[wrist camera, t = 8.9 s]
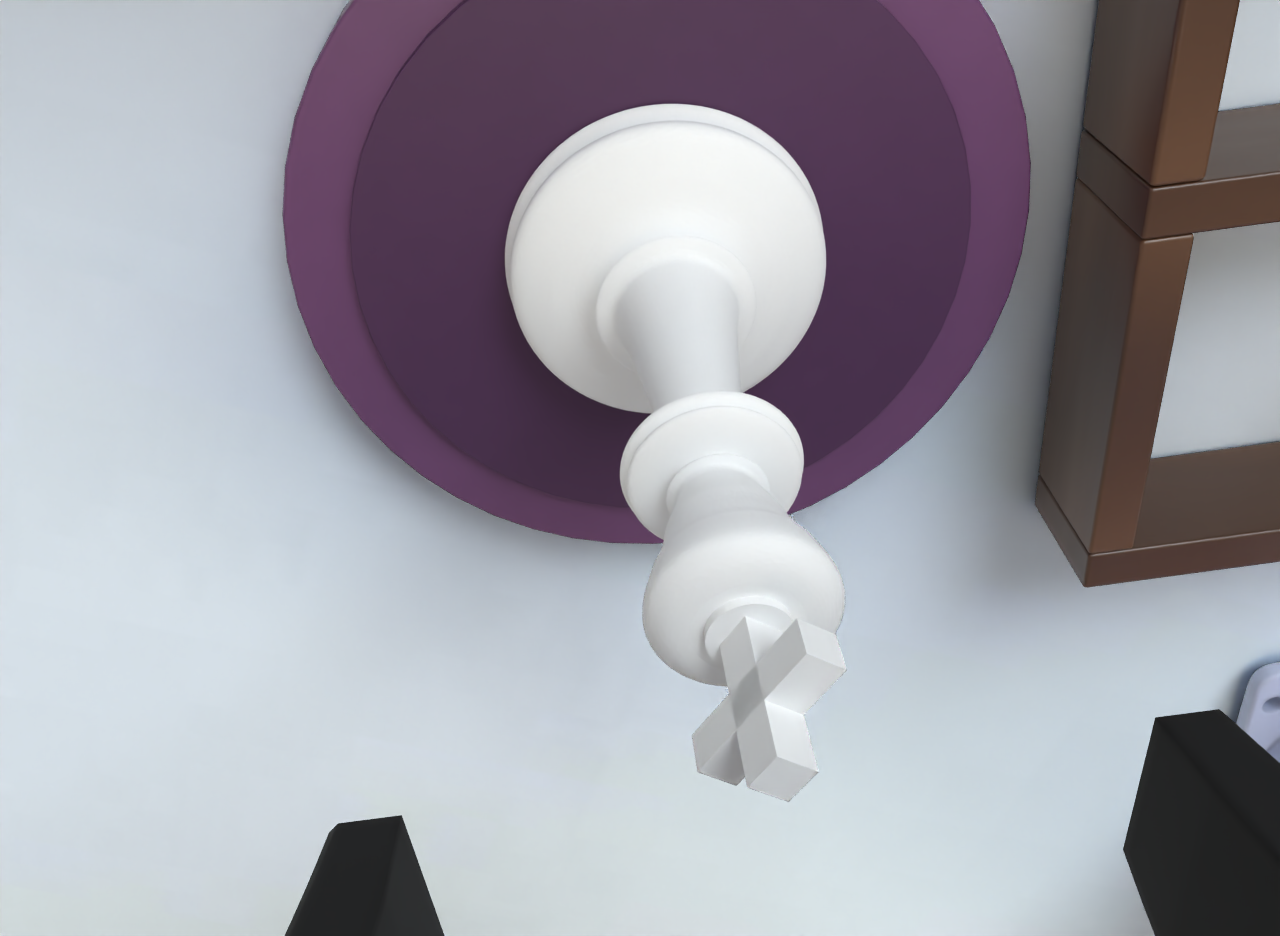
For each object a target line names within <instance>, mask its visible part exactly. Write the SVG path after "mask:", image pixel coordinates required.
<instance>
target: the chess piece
mask: <svg viewBox="0 0 1280 936" xmlns="http://www.w3.org/2000/svg"><path fill="white" fill-rule="evenodd" d="M505 272H506V280H507V286H508V290H509V294H510V298H511V301H512V304H513V307H514V311H515V314H516V317H517V320H518V323H519V325H520V328H521V330H522V332H523V334H524V336H525V338H526V340H527V342H528V343H529V345H530V346H531V348H532V349H533V351H534V352H535V354H536V355H537V356H538V358H539V359H540V360H541V361H542V363H543V364H544V365H545V366H546V367H547V368H548V369H549V370H550V371H551V372H552V373H553V374H554V375H555V376H557V377H558V378H559V379H560V380H561V381H563V382H564V383H565V384H567V385H568V386H569V387H571V388H572V389H574V390H576V391H577V392H579V393H581V394H583V395H584V396H586V397H588V398H590V399H593V400H595V401H597V402H600V403H602V404H605V405H608V406H611V407H615V408H618V409H622V410H627V411H633V412H640V413H652V414H651V415H650V416H648V417H647V418H646V419H645V420H644V421H643V422H642V423H641V424H640V425H639V426H638V427H637V429H636V430H635V431H634V433H633V434H632V436H631V437H630V439H629V441H628V443H627V444H626V447H625V449H624V452H623V455H622V459H621V465H620V482H621V488H622V491H623V494H624V497H625V499H626V501H627V503H628V505H629V507H630V508H631V510H632V511H633V512H634V514H635V515H636V517H637V518H638V520H639V521H640V522H641V523H642V524H643V526H644V527H646V528H647V529H648V530H649V531H650V532H651V533H653V534H654V535H656V536H657V537H659V538H661V539H663V540H664V541H663V545H662V548H661V551H660V553H659V555H658V556H657V558H656V560H655V562H654V565H653V567H652V570H651V573H650V576H649V579H648V583H647V586H646V590H645V594H644V599H643V608H642V618H643V626H644V630H645V634H646V637H647V639H648V641H649V643H650V645H651V647H652V649H653V650H654V652H655V653H656V654H657V655H658V657H659V658H660V659H661V660H662V661H663V662H664V663H665V664H667V665H668V666H669V667H670V668H672V669H673V670H675V671H676V672H678V673H680V674H681V675H683V676H685V677H688V678H690V679H692V680H695V681H698V682H702V683H706V684H710V685H716V686H725V687H728V691H729V695H728V696H727V697H726V698H725V699H724V700H723V701H722V702H721V703H720V705H719V706H718V707H717V708H716V709H715V710H714V711H713V712H712V713H711V715H710V716H709V717H708V718H707V719H706V720H705V721H704V722H703V724H702V725H701V726H700V727H699V728H698V729H697V730H696V731H695V732H694V734H693V735H692V739H693V746H694V752H695V759H696V765H697V772H698V773H701V774H704V775H707V776H710V777H713V778H716V779H719V780H721V781H724V782H727V783H730V784H733V785H736V786H737V785H738V784H739V783H740V782H741V781H742V779H743V778H744V777H745V778H746V784H747V788H750V789H753V790H756V791H758V792H761V793H764V794H767V795H770V796H773V797H776V798H779V799H781V800H784V801H787V802H789V801H790V800H791V799H792V798H793V797H794V796H795V795H796V794H797V793H798V792H799V791H800V790H801V789H802V788H803V787H804V786H805V785H806V784H807V783H808V782H809V781H810V780H811V779H812V778H813V777H814V776H815V775H816V774H817V773H818V772H819V770H818V767H817V763H816V759H815V755H814V751H813V747H812V744H811V740H810V736H809V732H808V728H807V724H806V721H805V717H804V715H805V714H806V713H807V712H808V711H809V709H810V708H811V707H812V706H813V705H814V704H815V703H816V702H817V701H818V700H819V699H820V698H821V697H822V696H823V695H824V694H825V693H826V692H827V691H828V690H829V689H830V688H831V686H832V685H833V684H834V683H835V682H836V681H837V680H838V679H839V678H840V677H841V676H842V675H843V674H844V673H845V672H846V671H847V668H846V665H845V662H844V659H843V655H842V652H841V649H840V646H839V643H838V640H837V636H836V632H837V630H838V628H839V626H840V623H841V620H842V617H843V613H844V608H845V590H844V584H843V581H842V578H841V575H840V573H839V570H838V568H837V566H836V565H835V563H834V561H833V560H832V558H831V557H830V556H829V554H828V553H827V552H826V551H825V549H824V548H823V547H822V546H821V545H820V544H819V543H818V542H817V540H816V539H815V538H814V537H813V536H812V535H811V534H810V533H809V532H808V531H807V530H805V529H804V528H803V527H802V526H800V525H799V524H798V523H796V522H795V521H794V520H793V519H792V518H791V517H790V516H789V515H788V514H787V512H788V510H789V509H790V507H791V506H792V504H793V503H794V501H795V499H796V497H797V494H798V491H799V489H800V485H801V479H802V473H803V467H804V453H803V447H802V443H801V440H800V437H799V434H798V433H797V431H796V429H795V427H794V426H793V424H792V423H791V421H790V420H789V419H788V418H787V417H786V416H785V415H784V414H783V413H782V412H781V411H780V410H779V409H777V408H776V407H775V406H773V405H772V404H770V403H768V402H767V401H765V400H763V399H760V398H758V397H755V396H753V395H749V394H745V393H743V392H745V391H747V390H748V389H750V388H752V387H753V386H755V385H756V384H758V383H759V382H761V381H762V380H763V379H765V378H766V377H767V376H769V375H770V374H771V373H772V372H773V371H774V370H776V369H777V368H778V367H779V366H780V365H781V364H782V363H783V362H784V361H785V360H786V359H787V358H788V356H789V355H790V354H791V353H792V352H793V351H794V349H795V348H796V347H797V345H798V344H799V342H800V341H801V340H802V338H803V336H804V335H805V333H806V331H807V330H808V328H809V326H810V324H811V322H812V320H813V318H814V316H815V313H816V311H817V308H818V305H819V302H820V299H821V296H822V292H823V287H824V281H825V274H826V247H825V239H824V233H823V226H822V220H821V215H820V211H819V207H818V204H817V201H816V198H815V195H814V193H813V191H812V188H811V186H810V184H809V182H808V180H807V178H806V177H805V175H804V173H803V172H802V170H801V169H800V167H799V166H798V164H797V163H796V162H795V160H794V159H793V158H792V157H791V156H790V154H789V153H788V152H787V151H786V150H785V149H784V148H783V147H782V146H781V145H780V144H779V143H778V142H776V141H775V140H774V139H773V138H772V137H770V136H769V135H768V134H766V133H765V132H764V131H762V130H761V129H759V128H758V127H756V126H754V125H752V124H751V123H749V122H747V121H745V120H743V119H741V118H739V117H736V116H734V115H731V114H729V113H726V112H723V111H719V110H716V109H712V108H707V107H703V106H696V105H688V104H657V105H648V106H642V107H636V108H632V109H628V110H624V111H621V112H618V113H615V114H612V115H610V116H607V117H604V118H602V119H600V120H598V121H596V122H594V123H592V124H590V125H588V126H586V127H584V128H583V129H581V130H580V131H578V132H576V133H575V134H573V135H572V136H571V137H569V138H568V139H566V140H565V141H564V142H563V143H561V144H560V145H559V146H558V147H557V148H556V149H555V150H554V151H553V152H551V153H550V154H549V155H548V156H547V157H546V159H545V160H544V161H543V162H542V163H541V164H540V165H539V167H538V168H537V169H536V170H535V172H534V173H533V175H532V176H531V177H530V179H529V180H528V182H527V184H526V185H525V187H524V189H523V191H522V192H521V194H520V196H519V199H518V201H517V203H516V205H515V208H514V211H513V213H512V216H511V220H510V223H509V227H508V232H507V238H506V245H505Z"/></svg>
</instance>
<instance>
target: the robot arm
mask: <svg viewBox="0 0 1280 936" xmlns="http://www.w3.org/2000/svg"><path fill="white" fill-rule="evenodd" d="M1123 851H1124V853H1125V856H1126V859H1127V862H1128V864H1129V867H1130V870H1131V873H1132V875H1133V878H1134V881H1135V884H1136V886H1137V889H1138V892H1139V895H1140V897H1141V900H1142V903H1143V906H1144V908H1145V911H1146V913H1147V916H1148V918H1149V921H1150V924H1151V926H1152V929H1153V931H1154V934H1155V936H1280V662H1276V663H1271V664H1267V665H1265V666H1263V667H1261V668H1259V669H1258V670H1257V671H1255V672H1254V673H1253V675H1252V676H1251V678H1250V680H1249V682H1248V685H1247V689H1246V692H1245V695H1244V698H1243V702H1242V705H1241V708H1240V712H1239V715H1238V718H1237V722H1236V723H1235V722H1233V721H1232V720H1231V719H1230V718H1229V717H1228V716H1227V715H1225V714H1224V713H1223V712H1222V711H1220V710H1219V709H1218V710H1210V711H1203V712H1195V713H1187V714H1179V715H1172V716H1164V717H1156V718H1155V721H1154V725H1153V729H1152V733H1151V738H1150V742H1149V746H1148V750H1147V754H1146V758H1145V762H1144V766H1143V770H1142V774H1141V778H1140V783H1139V787H1138V791H1137V795H1136V799H1135V803H1134V807H1133V811H1132V815H1131V819H1130V823H1129V827H1128V832H1127V836H1126V840H1125V844H1124V848H1123ZM285 936H444V933H443V930H442V928H441V925H440V922H439V919H438V916H437V914H436V911H435V908H434V905H433V902H432V900H431V897H430V894H429V891H428V888H427V885H426V883H425V880H424V877H423V874H422V871H421V869H420V866H419V863H418V860H417V857H416V855H415V852H414V849H413V846H412V843H411V840H410V838H409V835H408V832H407V829H406V826H405V824H404V821H403V818H402V815H401V816H393V817H385V818H377V819H370V820H362V821H354V822H347V823H339V824H337V825H336V826H335V827H334V828H333V829H332V830H331V831H330V832H329V834H328V837H327V839H326V842H325V844H324V846H323V849H322V851H321V854H320V856H319V859H318V861H317V864H316V866H315V868H314V871H313V873H312V875H311V878H310V880H309V882H308V885H307V887H306V889H305V892H304V894H303V896H302V898H301V901H300V903H299V905H298V907H297V910H296V912H295V914H294V916H293V919H292V921H291V923H290V925H289V927H288V930H287V932H286V934H285Z"/></svg>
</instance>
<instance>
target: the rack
mask: <svg viewBox="0 0 1280 936" xmlns="http://www.w3.org/2000/svg"><path fill="white" fill-rule="evenodd" d="M1239 2H1240V0H1099V3H1098V11H1097V19H1096V27H1095V35H1094V43H1093V50H1092V58H1091V66H1090V74H1089V82H1088V90H1087V98H1086V106H1085V114H1084V122H1083V126H1084V130H1082V132H1081V140H1080V148H1079V156H1078V164H1077V172H1076V175H1077V177H1078V178H1077V179H1076V181H1075V189H1074V197H1073V205H1072V213H1071V221H1070V229H1069V237H1068V244H1067V252H1066V260H1065V268H1064V276H1063V284H1062V292H1061V300H1060V308H1059V316H1058V324H1057V332H1056V339H1055V347H1054V355H1053V363H1052V371H1051V379H1050V387H1049V395H1048V403H1047V411H1046V419H1045V427H1044V434H1043V442H1042V450H1041V458H1040V466H1039V473H1040V474H1039V476H1038V482H1037V490H1036V498H1035V506H1036V508H1037V509H1038V511H1039V513H1040V514H1041V516H1042V518H1043V519H1044V521H1045V523H1046V525H1047V526H1048V528H1049V530H1050V531H1051V533H1052V535H1053V536H1054V538H1055V540H1056V541H1057V543H1058V545H1059V546H1060V548H1061V550H1062V551H1063V553H1064V555H1065V556H1066V558H1067V560H1068V562H1069V563H1070V565H1071V567H1072V568H1073V570H1074V572H1075V573H1076V575H1077V577H1078V578H1079V580H1080V582H1081V583H1082V585H1083V586H1084V587H1094V586H1102V585H1109V584H1117V583H1124V582H1132V581H1139V580H1147V579H1154V578H1161V577H1169V576H1176V575H1184V574H1191V573H1199V572H1206V571H1213V570H1221V569H1228V568H1236V567H1243V566H1251V565H1258V564H1266V563H1273V562H1280V442H1273V443H1266V444H1258V445H1251V446H1243V447H1236V448H1228V449H1221V450H1213V451H1206V452H1198V453H1191V454H1183V455H1176V456H1168V457H1161V458H1154V459H1150V458H1151V453H1152V447H1153V442H1154V437H1155V432H1156V427H1157V422H1158V417H1159V412H1160V407H1161V402H1162V397H1163V392H1164V386H1165V381H1166V376H1167V371H1168V366H1169V361H1170V356H1171V351H1172V346H1173V341H1174V336H1175V330H1176V325H1177V320H1178V315H1179V310H1180V305H1181V300H1182V295H1183V290H1184V285H1185V280H1186V274H1187V269H1188V264H1189V259H1190V254H1191V249H1192V244H1193V239H1194V237H1193V234H1192V233H1197V232H1204V231H1212V230H1219V229H1227V228H1234V227H1242V226H1250V225H1257V224H1265V223H1272V222H1280V104H1273V105H1265V106H1258V107H1250V108H1243V109H1235V110H1227V111H1220V112H1218V109H1219V104H1220V98H1221V93H1222V88H1223V83H1224V78H1225V73H1226V68H1227V63H1228V58H1229V53H1230V48H1231V42H1232V37H1233V32H1234V27H1235V22H1236V17H1237V12H1238V7H1239Z"/></svg>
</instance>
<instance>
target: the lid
mask: <svg viewBox="0 0 1280 936" xmlns="http://www.w3.org/2000/svg"><path fill="white" fill-rule="evenodd" d="M657 104H688V105H696V106H703V107H707V108H712V109H716V110H719V111H723V112H726V113H729V114H731V115H734V116H736V117H739V118H741V119H743V120H745V121H747V122H749V123H751V124H752V125H754V126H756V127H758V128H759V129H761V130H762V131H764V132H765V133H766V134H768V135H769V136H770V137H772V138H773V139H774V140H775V141H776V142H778V143H779V144H780V145H781V146H782V147H783V148H784V149H785V150H786V151H787V152H788V153H789V154H790V156H791V157H792V158H793V159H794V160H795V162H796V163H797V164H798V166H799V167H800V169H801V170H802V172H803V173H804V175H805V177H806V178H807V180H808V182H809V184H810V186H811V188H812V191H813V193H814V195H815V198H816V201H817V204H818V207H819V211H820V215H821V220H822V226H823V233H824V239H825V247H826V274H825V281H824V287H823V292H822V296H821V299H820V302H819V305H818V308H817V311H816V313H815V316H814V318H813V320H812V322H811V324H810V326H809V328H808V330H807V331H806V333H805V335H804V336H803V338H802V340H801V341H800V342H799V344H798V345H797V347H796V348H795V349H794V351H793V352H792V353H791V354H790V355H789V356H788V358H787V359H786V360H785V361H784V362H783V363H782V364H781V365H780V366H779V367H778V368H777V369H776V370H774V371H773V372H772V373H771V374H770V375H769V376H767V377H766V378H765V379H763V380H762V381H761V382H759V383H758V384H756V385H755V386H753V387H752V388H750V389H748V390H747V391H745V392H743V393H745V394H749V395H753V396H755V397H758V398H760V399H763V400H765V401H767V402H768V403H770V404H772V405H773V406H775V407H776V408H777V409H779V410H780V411H781V412H782V413H783V414H784V415H785V416H786V417H787V418H788V419H789V420H790V421H791V423H792V424H793V426H794V427H795V429H796V431H797V433H798V434H799V437H800V440H801V443H802V447H803V453H804V467H803V473H802V479H801V485H800V489H799V491H798V494H797V497H796V499H795V501H794V503H793V504H792V506H791V507H790V509H789V510H788V512H787V514H788V515H789V514H792V513H794V512H797V511H799V510H802V509H804V508H806V507H809V506H811V505H813V504H815V503H817V502H819V501H820V500H822V499H824V498H826V497H828V496H830V495H832V494H834V493H836V492H838V491H839V490H841V489H843V488H845V487H847V486H848V485H850V484H851V483H853V482H854V481H856V480H857V479H859V478H860V477H862V476H863V475H865V474H866V473H868V472H869V471H871V470H872V469H874V468H875V467H877V466H878V465H880V464H881V463H882V462H884V461H885V460H886V459H887V458H888V457H890V456H891V455H892V454H893V453H894V452H896V451H897V450H898V449H899V448H900V447H902V446H903V445H904V444H905V443H906V442H908V441H909V440H910V439H911V438H912V437H913V436H914V435H915V434H916V433H917V432H918V431H919V430H920V429H921V428H922V427H923V426H924V425H925V424H926V423H927V422H928V421H929V420H930V419H931V418H932V417H933V416H934V415H935V414H936V413H937V412H938V411H939V410H940V409H941V408H942V406H943V405H944V404H945V403H946V401H947V400H948V399H949V397H950V396H951V395H952V393H953V392H954V391H955V390H956V388H957V387H958V386H959V384H960V383H961V382H962V381H963V379H964V378H965V377H966V375H967V374H968V373H969V371H970V369H971V368H972V366H973V364H974V363H975V361H976V359H977V358H978V356H979V354H980V353H981V351H982V349H983V348H984V346H985V345H986V343H987V341H988V340H989V338H990V336H991V334H992V332H993V330H994V327H995V325H996V323H997V321H998V318H999V316H1000V314H1001V312H1002V310H1003V307H1004V305H1005V303H1006V301H1007V298H1008V296H1009V293H1010V290H1011V286H1012V283H1013V280H1014V277H1015V273H1016V270H1017V267H1018V264H1019V260H1020V257H1021V254H1022V248H1023V242H1024V236H1025V230H1026V224H1027V219H1028V213H1029V198H1030V168H1031V162H1030V152H1029V143H1028V133H1027V124H1026V116H1025V112H1024V108H1023V104H1022V100H1021V96H1020V93H1019V89H1018V85H1017V81H1016V77H1015V73H1014V70H1013V67H1012V65H1011V63H1010V60H1009V58H1008V56H1007V53H1006V51H1005V48H1004V46H1003V44H1002V41H1001V39H1000V37H999V34H998V32H997V30H996V27H995V25H994V23H993V22H992V20H991V19H990V17H989V15H988V14H987V12H986V10H985V9H984V7H983V6H982V4H981V2H980V1H979V0H350V1H349V2H348V4H347V5H346V6H345V8H344V9H343V11H342V13H341V15H340V17H339V19H338V20H337V22H336V24H335V26H334V28H333V30H332V32H331V34H330V35H329V37H328V39H327V41H326V43H325V45H324V47H323V49H322V51H321V52H320V54H319V56H318V58H317V60H316V62H315V64H314V66H313V68H312V70H311V73H310V76H309V79H308V82H307V84H306V87H305V90H304V93H303V96H302V99H301V101H300V104H299V107H298V110H297V113H296V115H295V119H294V124H293V129H292V134H291V139H290V144H289V149H288V154H287V159H286V164H285V177H284V197H283V224H284V235H285V245H286V256H287V263H288V268H289V272H290V276H291V280H292V284H293V288H294V292H295V297H296V301H297V305H298V308H299V310H300V313H301V315H302V318H303V320H304V323H305V326H306V328H307V331H308V333H309V336H310V338H311V341H312V343H313V346H314V348H315V350H316V352H317V353H318V355H319V357H320V359H321V361H322V362H323V364H324V366H325V368H326V369H327V371H328V373H329V375H330V377H331V378H332V380H333V382H334V384H335V385H336V387H337V388H338V390H339V391H340V392H341V394H342V395H343V396H344V398H345V399H346V400H347V402H348V403H349V404H350V406H351V407H352V408H353V410H354V411H355V412H356V414H357V415H358V416H359V418H360V419H361V420H362V421H363V422H364V423H365V424H366V425H367V426H368V427H369V428H370V430H371V431H372V432H373V433H374V434H375V435H376V436H377V437H378V438H379V439H380V440H381V441H382V442H383V443H384V444H385V445H386V446H387V447H388V448H389V449H390V450H391V451H392V452H393V453H395V454H396V455H397V456H398V457H400V458H401V459H402V460H403V461H405V462H406V463H407V464H408V465H409V466H411V467H412V468H413V469H414V470H416V471H417V472H418V473H419V474H421V475H422V476H423V477H425V478H426V479H428V480H430V481H431V482H433V483H434V484H436V485H438V486H439V487H441V488H442V489H444V490H446V491H447V492H449V493H450V494H452V495H453V496H455V497H457V498H459V499H461V500H463V501H465V502H467V503H469V504H471V505H473V506H475V507H477V508H479V509H482V510H484V511H486V512H488V513H490V514H492V515H494V516H497V517H500V518H503V519H506V520H508V521H511V522H514V523H517V524H520V525H523V526H526V527H528V528H531V529H535V530H539V531H544V532H548V533H552V534H557V535H561V536H565V537H570V538H576V539H584V540H592V541H600V542H609V543H642V544H655V543H663V541H664V540H663V539H661V538H659V537H657V536H656V535H654V534H653V533H651V532H650V531H649V530H648V529H647V528H646V527H644V526H643V524H642V523H641V522H640V521H639V520H638V518H637V517H636V515H635V514H634V512H633V511H632V510H631V508H630V507H629V505H628V503H627V501H626V499H625V497H624V494H623V491H622V488H621V482H620V465H621V459H622V455H623V452H624V449H625V447H626V444H627V443H628V441H629V439H630V437H631V436H632V434H633V433H634V431H635V430H636V429H637V427H638V426H639V425H640V424H641V423H642V422H643V421H644V420H645V419H646V418H647V417H648V416H650V415H651V414H652V413H640V412H633V411H627V410H622V409H618V408H615V407H611V406H608V405H605V404H602V403H600V402H597V401H595V400H593V399H590V398H588V397H586V396H584V395H583V394H581V393H579V392H577V391H576V390H574V389H572V388H571V387H569V386H568V385H567V384H565V383H564V382H563V381H561V380H560V379H559V378H558V377H557V376H555V375H554V374H553V373H552V372H551V371H550V370H549V369H548V368H547V367H546V366H545V365H544V364H543V363H542V361H541V360H540V359H539V358H538V356H537V355H536V354H535V352H534V351H533V349H532V348H531V346H530V345H529V343H528V342H527V340H526V338H525V336H524V334H523V332H522V330H521V328H520V325H519V323H518V320H517V317H516V314H515V311H514V307H513V304H512V301H511V298H510V294H509V290H508V286H507V280H506V272H505V245H506V238H507V232H508V227H509V223H510V220H511V216H512V213H513V211H514V208H515V205H516V203H517V201H518V199H519V196H520V194H521V192H522V191H523V189H524V187H525V185H526V184H527V182H528V180H529V179H530V177H531V176H532V175H533V173H534V172H535V170H536V169H537V168H538V167H539V165H540V164H541V163H542V162H543V161H544V160H545V159H546V157H547V156H548V155H549V154H550V153H551V152H553V151H554V150H555V149H556V148H557V147H558V146H559V145H560V144H561V143H563V142H564V141H565V140H566V139H568V138H569V137H571V136H572V135H573V134H575V133H576V132H578V131H580V130H581V129H583V128H584V127H586V126H588V125H590V124H592V123H594V122H596V121H598V120H600V119H602V118H604V117H607V116H610V115H612V114H615V113H618V112H621V111H624V110H628V109H632V108H636V107H642V106H648V105H657Z"/></svg>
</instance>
